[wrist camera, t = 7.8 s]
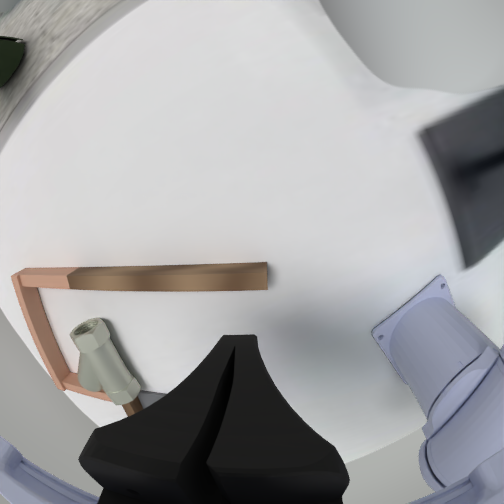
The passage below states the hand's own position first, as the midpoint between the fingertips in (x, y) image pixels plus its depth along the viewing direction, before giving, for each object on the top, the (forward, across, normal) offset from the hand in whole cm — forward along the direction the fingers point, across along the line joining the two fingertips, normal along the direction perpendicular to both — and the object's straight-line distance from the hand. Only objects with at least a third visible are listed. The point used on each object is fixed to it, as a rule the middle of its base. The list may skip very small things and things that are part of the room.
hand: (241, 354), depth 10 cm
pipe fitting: (+10, +16, +8) cm, 20 cm away
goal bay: (+9, +19, +6) cm, 22 cm away
